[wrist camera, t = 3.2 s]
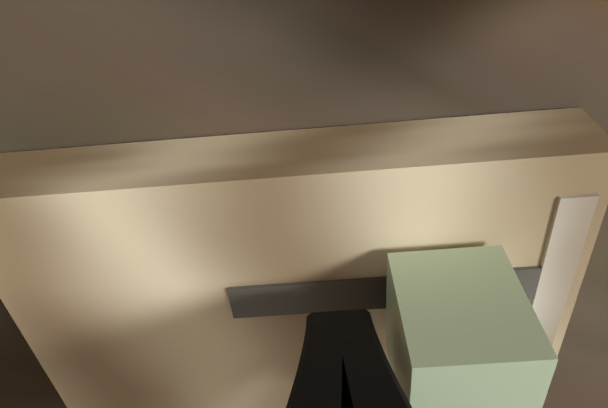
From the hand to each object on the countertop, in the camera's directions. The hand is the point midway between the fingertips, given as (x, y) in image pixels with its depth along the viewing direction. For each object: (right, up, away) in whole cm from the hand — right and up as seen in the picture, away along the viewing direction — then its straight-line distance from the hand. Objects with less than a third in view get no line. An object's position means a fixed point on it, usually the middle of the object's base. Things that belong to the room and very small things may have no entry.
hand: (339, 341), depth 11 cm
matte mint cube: (+2, +1, +1) cm, 3 cm away
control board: (-1, -4, +7) cm, 8 cm away
